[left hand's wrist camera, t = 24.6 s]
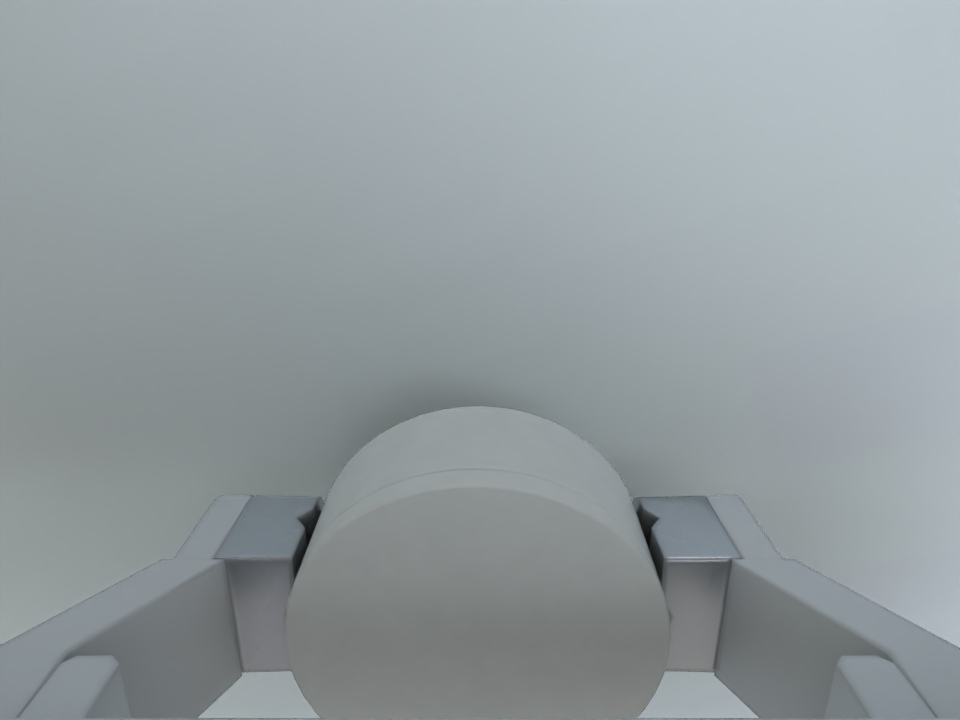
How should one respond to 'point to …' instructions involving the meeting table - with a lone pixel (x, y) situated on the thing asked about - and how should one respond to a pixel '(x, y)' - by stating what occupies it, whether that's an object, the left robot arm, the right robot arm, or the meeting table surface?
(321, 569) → the lid
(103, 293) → the meeting table surface
